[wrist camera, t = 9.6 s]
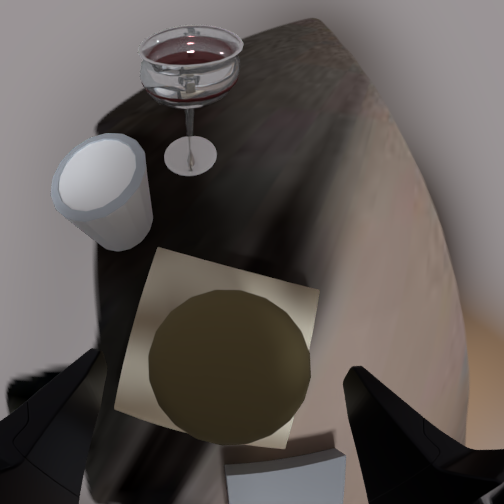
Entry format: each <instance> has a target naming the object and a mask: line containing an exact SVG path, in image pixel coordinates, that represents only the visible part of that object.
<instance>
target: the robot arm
mask: <svg viewBox="0 0 504 504" xmlns="http://www.w3.org/2000/svg"><path fill="white" fill-rule="evenodd" d="M106 373H107V364H106V361H105V358H104V355H103V352H102V351H101V350H98V349H93V348H92V349H90V350H88V351H87V352H86V353H85V354H83V355H82V356H81V357H80V358H78V359H77V360H76V361H75V362H73V363H72V364H71V365H70V366H68V367H67V368H66V369H65V370H64V371H62V372H61V373H60V374H59V375H57V376H56V377H55V378H54V379H53V380H51V381H50V382H49V383H48V384H46V385H45V386H44V387H43V388H42V389H40V390H39V391H38V392H37V393H36V394H34V395H33V396H32V397H31V398H30V399H28V401H26V402H25V403H24V404H22V405H21V406H20V407H19V408H17V409H16V410H15V411H14V412H12V413H11V414H10V415H8V416H7V417H6V418H4V419H3V420H1V421H0V504H79V496H80V491H81V485H82V480H83V475H84V470H85V465H86V460H87V456H88V452H89V447H90V443H91V439H92V435H93V431H94V428H95V424H96V420H97V417H98V413H99V409H100V405H101V400H102V394H103V389H104V383H105V378H106ZM343 388H344V394H345V401H346V407H347V414H348V419H349V423H350V427H351V431H352V435H353V439H354V443H355V446H356V450H357V454H358V459H359V463H360V467H361V471H362V475H363V480H364V484H365V489H366V493H367V498H368V503H369V504H504V449H500V450H473V449H470V448H467V447H465V446H464V445H462V444H460V443H459V442H457V441H456V440H454V439H453V438H451V437H449V436H448V435H446V434H445V433H443V432H442V431H441V430H439V429H438V428H436V427H435V426H434V425H433V424H431V423H430V422H429V421H427V420H426V419H425V418H423V417H422V416H421V415H420V414H419V413H418V412H416V411H415V410H414V409H413V408H412V407H410V406H409V405H408V404H407V403H406V402H404V401H403V400H402V399H401V398H399V397H398V396H397V395H396V394H395V393H393V392H392V391H391V390H390V389H389V388H387V387H386V386H385V385H384V384H383V383H381V382H380V381H379V380H378V379H377V378H376V377H374V376H373V375H372V374H371V373H370V372H368V371H367V370H366V369H365V368H364V367H362V366H353V367H351V368H350V370H349V371H348V373H347V375H346V377H345V379H344V381H343Z"/></svg>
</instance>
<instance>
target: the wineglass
mask: <svg viewBox="0 0 504 504" xmlns="http://www.w3.org/2000/svg"><path fill="white" fill-rule="evenodd" d="M242 48H243V42H242V40H241V38H240V37H239V36H237V35H236V34H235V33H233V32H231V31H228V30H226V29H223V28H220V27H214V26H209V25H185V26H177V27H173V28H168V29H165V30H162V31H160V32H157V33H154V34H153V35H151V36H149V37H148V38H146V39H145V40H144V41H143V42H142V43H141V44H140V45H139V48H138V54H139V55H140V56H141V58H142V59H143V61H142V63H141V70H140V79H141V82H142V84H143V87H144V88H145V90H146V92H147V93H148V94H149V96H150V97H151V98H152V99H153V100H155V101H156V102H158V103H159V104H162V105H165V106H168V107H171V108H174V109H178V110H185V121H186V132H187V136H186V137H182V138H179V139H177V140H175V141H174V142H172V143H171V144H170V145H169V146H168V148H167V149H166V151H165V155H164V160H165V163H166V165H167V167H168V168H169V169H170V170H171V171H172V172H174V173H176V174H179V175H183V176H193V175H199V174H201V173H204V172H206V171H207V170H208V169H210V168H211V167H212V166H213V164H214V163H215V161H216V157H217V152H216V148H215V147H214V145H213V144H212V143H211V142H210V141H208V140H207V139H205V138H202V137H199V136H193V122H194V109H199V108H202V107H205V106H207V105H210V104H212V103H214V102H216V101H218V100H219V99H221V98H223V97H225V95H226V94H227V93H228V92H229V91H230V90H231V88H232V87H233V86H234V85H235V84H236V82H237V80H238V76H239V70H240V60H239V58H238V56H237V54H238V53H239V52H240V51H242Z"/></svg>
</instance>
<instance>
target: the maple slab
mask: <svg viewBox="0 0 504 504" xmlns="http://www.w3.org/2000/svg"><path fill="white" fill-rule="evenodd" d="M213 290H242V291H245V292H248V293H252V294H255V295H258V296H261V297H264V298H267V299H268V300H269V301H271V302H272V303H274V304H275V305H277V306H278V307H280V308H281V309H283V310H284V311H285V312H287V313H288V315H289V316H290V317H291V319H292V320H293V321H294V322H295V324H296V325H297V326H298V327H299V329H300V330H301V331H302V334H303V337H304V339H305V342H306V345H307V347H308V350H309V348H310V343H311V338H312V333H313V327H314V322H315V316H316V310H317V304H318V298H319V292H320V290H317V289H313V288H309V287H305V286H301V285H297V284H294V283H290V282H286V281H282V280H278V279H274V278H270V277H266V276H263V275H259V274H255V273H251V272H247V271H244V270H240V269H236V268H232V267H229V266H225V265H221V264H218V263H214V262H210V261H207V260H203V259H199V258H196V257H192V256H189V255H185V254H181V253H178V252H174V251H171V250H167V249H164V248H160V247H158V248H157V251H156V253H155V256H154V259H153V262H152V265H151V268H150V271H149V274H148V277H147V280H146V283H145V287H144V290H143V293H142V296H141V300H140V303H139V306H138V310H137V313H136V317H135V320H134V324H133V327H132V331H131V335H130V339H129V343H128V347H127V351H126V355H125V359H124V363H123V367H122V372H121V376H120V381H119V386H118V391H117V396H116V401H115V406H114V409H115V410H118V411H120V412H123V413H126V414H128V415H131V416H134V417H136V418H139V419H142V420H145V421H148V422H151V423H154V424H157V425H161V426H164V427H167V428H171V429H174V430H178V431H182V432H185V431H183V430H182V429H180V428H179V427H177V426H176V425H174V423H173V422H172V421H171V420H170V419H169V417H168V416H167V415H166V414H165V413H164V411H163V410H162V409H161V408H160V406H159V405H158V403H157V400H156V398H155V395H154V392H153V390H152V387H151V384H150V382H149V364H148V354H149V351H150V348H151V345H152V342H153V338H154V335H155V332H156V330H157V329H158V328H159V326H160V325H161V324H162V322H163V321H164V320H165V318H166V317H167V316H168V314H169V313H170V312H171V311H172V310H173V309H175V308H176V307H178V306H179V305H181V304H182V303H184V302H185V301H186V300H188V299H189V298H191V297H193V296H197V295H200V294H203V293H207V292H210V291H213ZM293 418H294V416H293V417H292V419H291V420H290V421H289V422H288V423H286V424H285V425H284V426H283V427H281V428H280V429H279V430H277V431H276V432H275V433H273V434H272V435H271V436H268V437H265V438H263V439H260V440H257V441H255V442H252V443H249V444H244V445H251V446H259V447H268V448H278V449H285V448H286V444H287V441H288V437H289V433H290V430H291V426H292V422H293ZM185 433H187V432H185Z"/></svg>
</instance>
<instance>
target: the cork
mask: <svg viewBox="0 0 504 504" xmlns="http://www.w3.org/2000/svg"><path fill="white" fill-rule="evenodd" d="M148 364H149V382H150V384H151V387H152V390H153V392H154V395H155V398H156V400H157V403H158V405H159V406H160V408H161V409H162V410H163V411H164V413H165V414H166V415H167V416H168V417H169V419H170V420H171V421H172V422H173V423H174V425H176V426H177V427H179V428H180V429H182V430H183V431H185V432H187V433H188V434H190V435H191V436H193V437H195V438H196V439H199V440H203V441H207V442H211V443H215V444H219V445H240V444H249V443H252V442H255V441H257V440H260V439H263V438H265V437H268V436H271V435H272V434H273V433H275V432H276V431H277V430H279V429H280V428H281V427H283V426H284V425H285V424H286V423H288V422H289V421H290V420H291V419H292V417H293V416H294V415H295V413H296V412H297V410H298V409H299V407H300V406H301V404H302V403H303V401H304V399H305V396H306V392H307V389H308V385H309V382H310V378H311V371H310V353H309V350H308V347H307V345H306V342H305V339H304V337H303V334H302V331H301V330H300V329H299V327H298V326H297V325H296V324H295V322H294V321H293V320H292V319H291V317H290V316H289V315H288V313H287V312H285V311H284V310H283V309H281V308H280V307H278V306H277V305H275V304H274V303H272V302H271V301H269V300H268V299H267V298H264V297H261V296H258V295H255V294H252V293H248V292H245V291H242V290H213V291H210V292H207V293H203V294H200V295H197V296H193V297H191V298H189V299H188V300H186V301H185V302H184V303H182V304H181V305H179V306H178V307H176V308H175V309H173V310H172V311H171V312H170V313H169V314H168V316H167V317H166V318H165V320H164V321H163V322H162V324H161V325H160V326H159V328H158V329H157V330H156V332H155V335H154V338H153V342H152V345H151V348H150V351H149V354H148Z"/></svg>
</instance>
